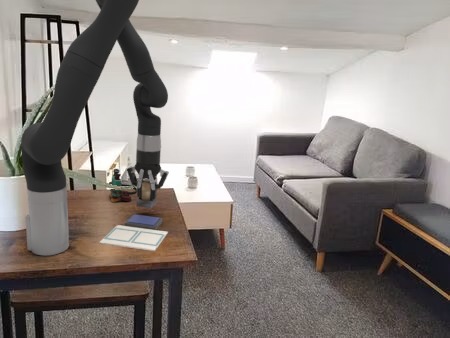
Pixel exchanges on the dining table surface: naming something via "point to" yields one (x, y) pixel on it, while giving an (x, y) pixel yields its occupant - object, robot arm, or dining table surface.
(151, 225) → the ink pad
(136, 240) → the form board
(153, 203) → the stamp
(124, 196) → the binoculars
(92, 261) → the dining table surface
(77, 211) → the dining table surface
